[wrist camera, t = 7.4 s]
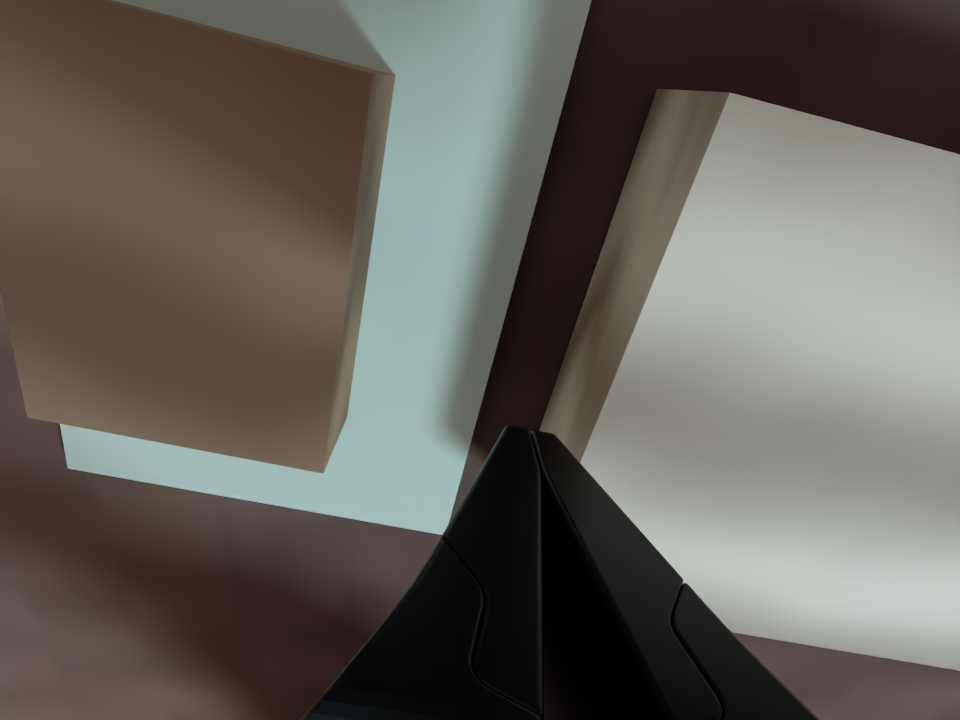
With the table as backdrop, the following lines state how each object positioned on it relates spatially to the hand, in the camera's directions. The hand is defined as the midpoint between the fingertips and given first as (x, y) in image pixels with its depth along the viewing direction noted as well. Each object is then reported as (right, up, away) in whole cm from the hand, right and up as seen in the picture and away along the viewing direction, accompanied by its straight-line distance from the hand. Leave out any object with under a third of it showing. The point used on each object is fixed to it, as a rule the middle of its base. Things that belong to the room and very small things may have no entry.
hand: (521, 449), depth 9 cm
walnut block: (-7, +3, +2) cm, 8 cm away
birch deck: (+10, +1, +6) cm, 12 cm away
